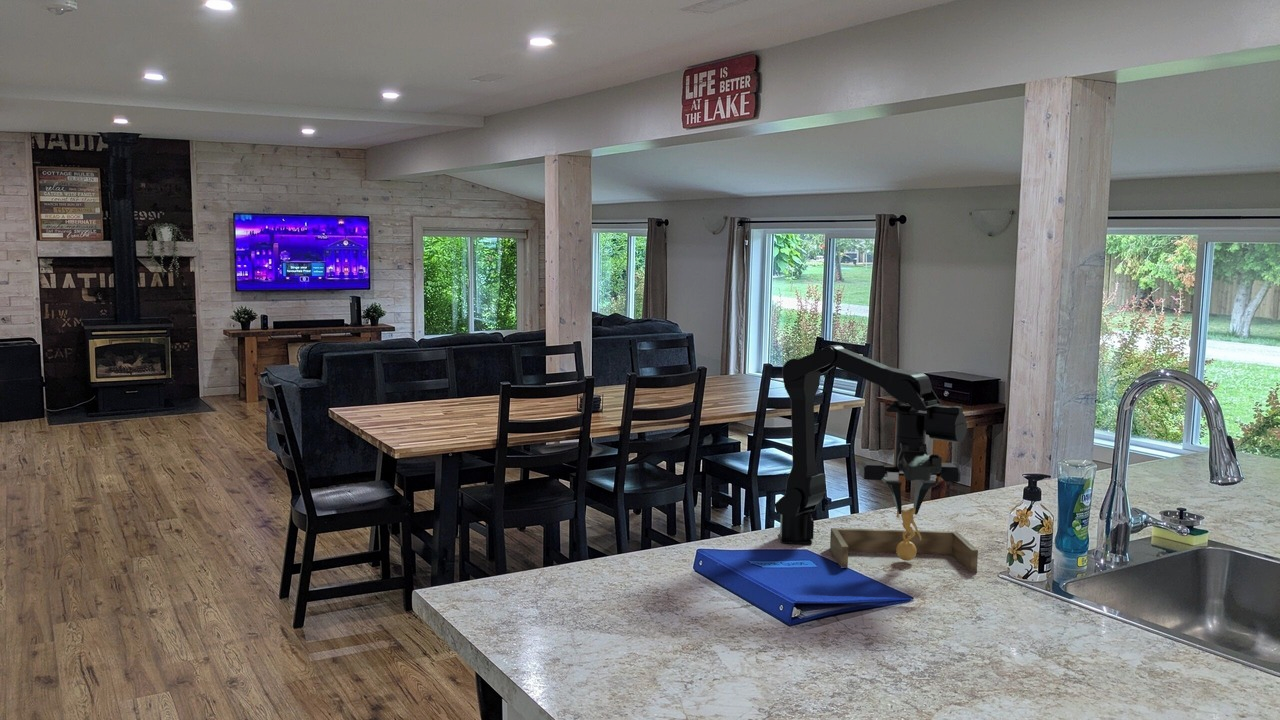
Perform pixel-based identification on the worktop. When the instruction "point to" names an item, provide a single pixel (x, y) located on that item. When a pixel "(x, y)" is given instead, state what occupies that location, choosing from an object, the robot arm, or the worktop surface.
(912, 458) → the robot arm
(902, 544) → the figurine
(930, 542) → the three-sided wooden wall
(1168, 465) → the worktop surface
